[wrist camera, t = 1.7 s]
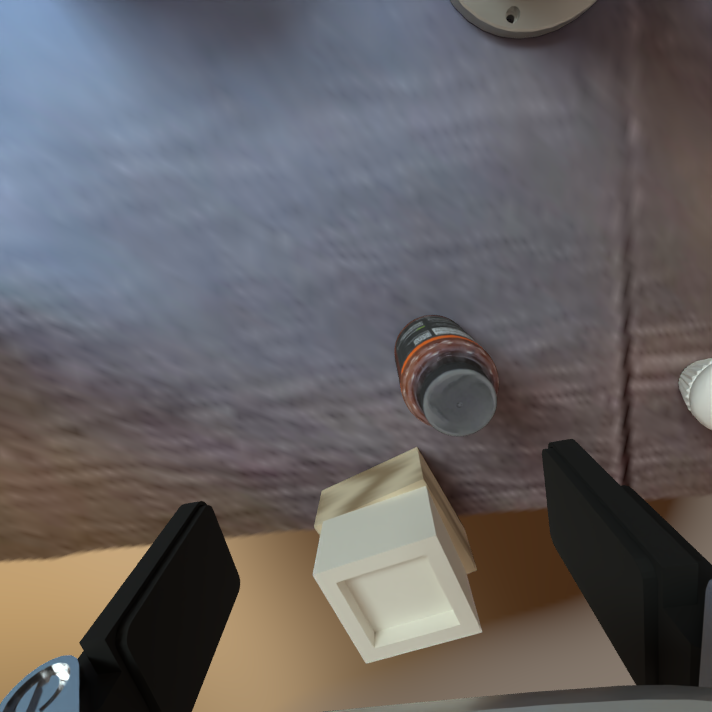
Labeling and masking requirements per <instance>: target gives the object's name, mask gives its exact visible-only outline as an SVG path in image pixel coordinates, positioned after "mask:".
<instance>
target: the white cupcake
mask: <svg viewBox="0 0 712 712" xmlns="http://www.w3.org/2000/svg"><path fill="white" fill-rule="evenodd" d="M678 380H679V382H678V384H679V389H680V391H681V394H682V396H683V399H684V401H685V403H686V405H687V408H688V410H689V411H691V413H692V415H694V416H695V418H696V419H697V420H698V421H699V422H700V423H701V424H702V425H704V426H705V427H707V428H708V429H710V430H712V358H709V359H704V360H699V361H696V362H694V363H691V365H690V366H687V368H685V369H684V371H683V372H682V374H681V375H680V378H679V379H678Z"/></svg>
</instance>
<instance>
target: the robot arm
mask: <svg viewBox="0 0 712 712" xmlns="http://www.w3.org/2000/svg"><path fill="white" fill-rule="evenodd" d="M450 1H451V3H452V4H453V6H454V7H455V8H456V9H457V10H458V11H459V12H460V13H461V14H462V15H463V16H464V17H465V18H466V19H467V20H468V21H469V22H471V23H473V24H474V25H476V26H477V27H479V28H480V29H482V30H483V31H486V32H489V33H492V34H495V35H497V36H500V37H509V38H517V39H520V38H529V37H538V36H541V35H544V34H547V33H550V32H553V31H556V30H558V29H560V28H561V27H563V26H565V25H567V24H568V23H570V22H572V21H574V20H575V19H577V18H578V17H579V16H580V15H581V14H583V13H584V12H585V11H586V10H588V9H589V8H590V7H591V6H592V5H593V4H594V3H595V2H596V1H597V0H450ZM507 19H511V21H512V23H509V22H508V21H507ZM542 458H543V468H544V478H545V487H546V497H547V507H548V517H549V526H550V534H551V538H552V540H553V543H554V546H555V548H556V550H557V551H558V553H559V555H560V556H561V558H562V559H563V561H564V563H565V564H566V566H567V568H568V570H569V572H570V573H571V575H572V577H573V578H574V580H575V582H576V583H577V585H578V587H579V589H580V590H581V592H582V594H583V595H584V597H585V599H586V600H587V602H588V604H589V606H590V607H591V609H592V611H593V612H594V614H595V616H596V617H597V619H598V621H599V622H600V624H601V626H602V627H603V629H604V631H605V633H606V634H607V636H608V638H609V639H610V641H611V643H612V644H613V646H614V648H615V650H616V651H617V653H618V655H619V656H620V658H621V660H622V661H623V663H624V665H625V666H626V668H627V670H628V672H629V673H630V675H631V677H632V679H633V680H634V682H635V683H636V685H633V686H611V687H598V688H584V689H569V690H556V691H541V692H528V693H519V694H518V693H517V694H507V695H495V696H485V697H474V698H463V699H452V700H441V701H430V702H419V703H408V704H397V705H387V706H377V707H367V708H356V709H347V710H337V711H336V710H335V711H325V712H712V565H711V564H710V563H709V562H708V561H707V560H706V559H705V558H704V557H703V556H702V555H701V554H700V553H699V552H698V551H697V550H696V549H695V548H694V547H693V546H692V545H690V544H689V543H688V542H687V541H686V540H685V539H684V538H683V537H682V536H681V535H680V534H679V533H678V532H677V531H676V530H675V529H674V528H673V527H672V526H671V525H670V524H669V523H667V521H665V520H664V519H663V518H662V517H661V516H660V515H659V514H658V513H657V512H656V511H655V510H654V509H653V508H652V507H651V506H650V505H649V504H648V503H647V502H646V501H645V500H644V499H643V498H642V497H640V496H639V495H638V494H637V493H636V492H635V491H634V490H633V489H632V488H630V487H629V486H625V485H623V486H620V485H619V484H618V483H617V482H616V481H615V480H614V479H613V478H612V477H611V476H610V475H609V474H608V473H607V472H606V471H605V470H604V469H603V468H602V467H601V466H600V465H599V464H598V463H597V462H596V461H595V460H594V459H593V458H592V457H591V456H590V455H589V454H588V453H587V452H586V451H585V450H584V449H583V448H582V447H581V446H580V445H579V444H578V443H577V442H576V441H575V440H573V439H568V440H562V441H556V442H550V443H549V445H548V449H543V451H542ZM239 588H240V578H239V575H238V572H237V569H236V567H235V564H234V562H233V559H232V557H231V554H230V552H229V549H228V546H227V544H226V541H225V539H224V536H223V534H222V531H221V529H220V526H219V523H218V521H217V518H216V516H215V513H214V511H213V509H212V507H211V506H209V505H207V504H206V503H205V502H203V501H200V502H194V503H188V504H183V505H182V506H180V507H179V509H178V510H177V512H176V513H175V514H174V516H173V517H172V518H171V520H170V521H169V522H168V524H167V525H166V526H165V528H164V529H163V530H162V532H161V533H160V534H159V536H158V537H157V539H156V540H155V541H154V543H153V544H152V545H151V547H150V548H149V549H148V551H147V552H146V554H145V555H144V556H143V557H142V559H141V560H140V562H139V563H138V564H137V566H136V567H135V568H134V570H133V571H132V572H131V574H130V575H129V576H128V578H127V579H126V580H125V582H124V583H123V585H122V586H121V587H120V589H119V590H118V591H117V593H116V594H115V595H114V597H113V598H112V599H111V601H110V602H109V603H108V605H107V606H106V607H105V609H104V610H103V612H102V613H101V614H100V615H99V617H98V618H97V620H96V621H95V622H94V624H93V625H92V626H91V628H90V629H89V630H88V632H87V633H86V635H85V636H84V637H83V639H82V640H81V641H80V645H81V646H82V648H83V650H84V651H83V652H82V654H81V655H80V657H79V658H78V659H77V658H75V657H73V656H61V657H58V658H55V659H52V660H50V661H48V662H47V663H45V664H43V665H41V666H39V667H38V668H37V669H35V670H34V671H32V672H31V673H30V674H28V675H27V676H26V677H25V678H24V679H23V680H21V681H20V682H19V683H18V684H17V685H16V686H15V687H14V688H13V689H12V690H11V691H10V692H9V694H8V695H7V696H6V697H5V698H4V699H3V701H2V702H1V704H0V712H192V709H193V707H194V704H195V702H196V699H197V697H198V694H199V691H200V689H201V686H202V684H203V681H204V678H205V676H206V674H207V671H208V669H209V666H210V663H211V661H212V658H213V656H214V653H215V651H216V648H217V645H218V643H219V641H220V638H221V636H222V633H223V630H224V628H225V625H226V623H227V620H228V618H229V615H230V613H231V610H232V607H233V605H234V602H235V600H236V597H237V595H238V592H239Z"/></svg>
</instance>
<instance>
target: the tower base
mask: <svg viewBox="0 0 712 712" xmlns="http://www.w3.org/2000/svg"><path fill="white" fill-rule="evenodd" d="M424 486H426V487H427V489H428V491H429V493H430V495H431V497H432V499H433V502H434V504H435V506H436V508H437V510H438V512H439V514H440V517H441V519H442V521H443V523H444V525H445V527H446V529H447V532H448V534H449V536H450V538H451V540H452V542H453V544H454V547H455V549H456V551H457V553H458V555H459V557H460V559H461V562H462V564H463V566H464V568H465V570H466V573H467V574H469V573H471V572H474V571H477V568H476V564H475V561H474V558H473V554H472V551H471V548H470V545H469V541H468V539H467V535H466V532H465V528H464V526H463V524H462V523H461V521H460V519H459V517H458V516H457V515H456V513H455V511H454V510H453V508H452V506H451V505H450V503H449V501H448V499H447V498H446V496H445V494H444V493H443V491H442V489H441V487H440V486H439V484H438V482H437V480H436V479H435V477H434V475H433V474H432V472H431V470H430V468H429V467H428V465H427V463H426V462H425V460H424V458H423V456H422V455H421V453H420V451H419V449H418V448H417V447H416V448H414V449H412V450H410V451H407V452H405V453H403V454H401V455H399V456H397V457H394V458H392V459H390V460H388V461H386V462H384V463H381V464H379V465H377V466H375V467H373V468H371V469H368V470H366V471H364V472H362V473H360V474H357V475H355V476H353V477H351V478H349V479H347V480H344V481H342V482H340V483H338V484H336V485H334V486H331V487H329V488H327V489H325V490H323V491H322V493H321V497H320V502H319V506H318V511H317V516H316V520H315V525H314V528H315V529H316V530H317V532H318V533H319V535H320V534H321V529H322V524H323V521H326V520H328V519H331V518H334V517H337V516H340V515H343V514H346V513H349V512H352V511H354V510H357V509H360V508H363V507H366V506H369V505H372V504H375V503H377V502H380V501H383V500H386V499H389V498H392V497H395V496H398V495H401V494H403V493H406V492H409V491H412V490H415V489H418V488H421V487H424Z"/></svg>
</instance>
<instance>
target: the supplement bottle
mask: <svg viewBox="0 0 712 712" xmlns="http://www.w3.org/2000/svg"><path fill="white" fill-rule="evenodd" d="M395 362H396V366H397V372H398V377H399V382H400V388H401V391H402V396H403V399H404V401H405V403H406V405H407V407H408V408H409V410H410V411H411V413H412V414H413V415H414V416H415V417H416V418H418V419H419V420H420V421H422V422H423V423H425V424H427V425H429V426H432V427H434V428H435V429H436V430H438V431H439V432H441V433H444V434H446V435H450V436H467V435H470V434H473V433H476V432H477V431H479V430H481V429H482V428H484V427H485V426H486V425H487V424H488V423H489V421H490V420H491V419H492V417H493V415H494V413H495V410H496V406H497V393H498V388H499V378H498V373H497V369H496V366H495V364H494V362H493V361H492V359H491V357H490V356H489V355H488V353H487V352H486V351H485V350H484V349H483V348H482V347H481V346H480V345H479V344H478V343H477V342H476V341H475V340H473V339H472V338H471V337H470V336H469V335H468V334H467V333H466V332H465V331H464V330H463V329H462V328H461V327H460V326H459V325H458V324H456V323H455V322H453V321H452V320H450V319H448V318H446V317H443V316H438V315H426V316H422V317H419V318H417V319H414V320H413V321H411V322H410V323H408V324H407V325H406V326H405V327H404V328H403V330H402V331H401V332H400V334H399V336H398V338H397V341H396V344H395Z"/></svg>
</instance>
